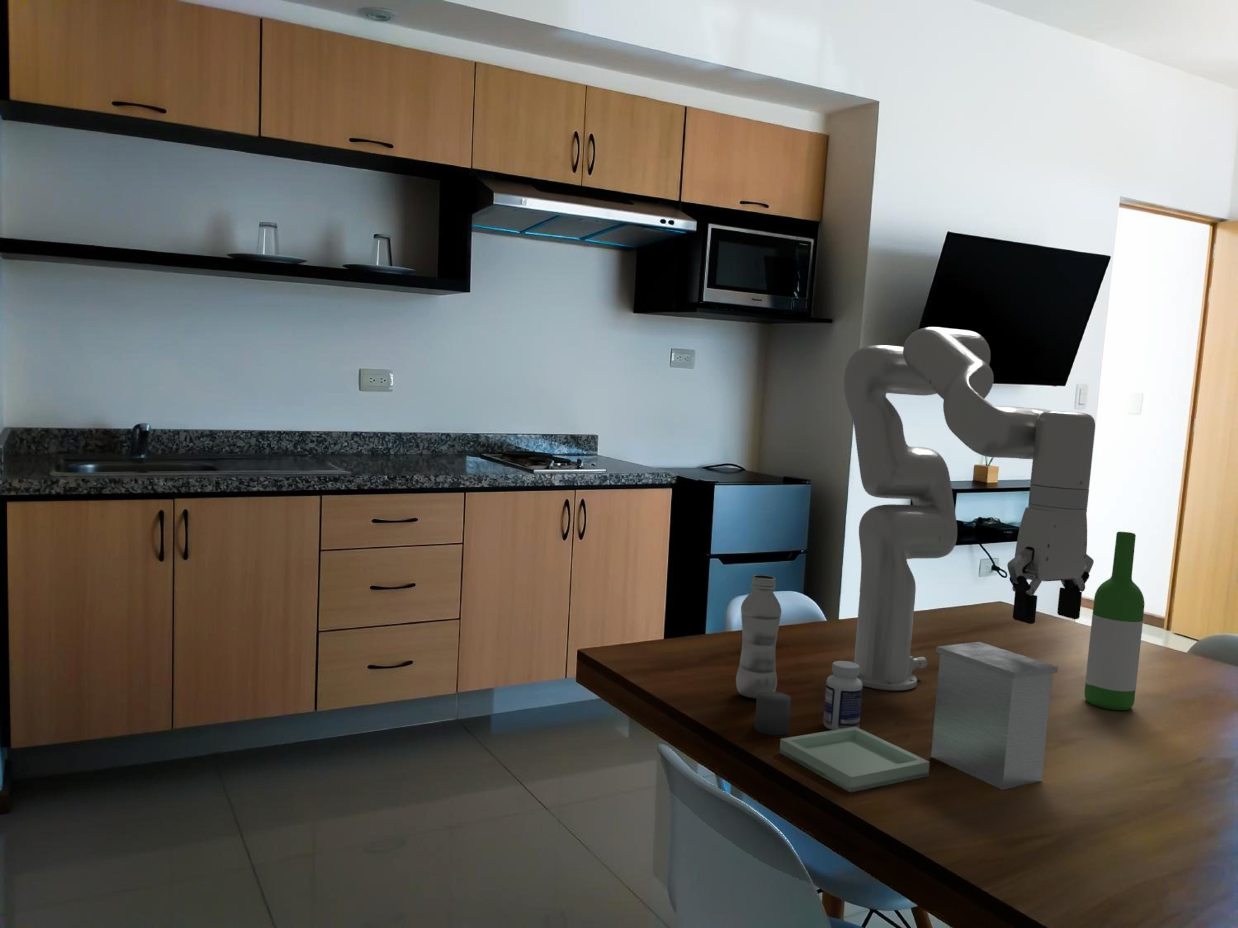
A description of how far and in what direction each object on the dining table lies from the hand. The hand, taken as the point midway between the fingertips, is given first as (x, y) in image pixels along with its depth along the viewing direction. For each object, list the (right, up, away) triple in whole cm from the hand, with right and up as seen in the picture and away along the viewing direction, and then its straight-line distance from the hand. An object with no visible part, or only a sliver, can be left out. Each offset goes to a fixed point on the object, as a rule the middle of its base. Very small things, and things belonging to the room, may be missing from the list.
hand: (1046, 619), depth 136 cm
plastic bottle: (-38, -17, +22) cm, 47 cm away
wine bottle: (+24, -20, +30) cm, 43 cm away
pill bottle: (-27, -18, +10) cm, 34 cm away
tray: (-29, -19, -5) cm, 35 cm away
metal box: (-10, -20, -3) cm, 23 cm away
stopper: (-38, -18, +7) cm, 42 cm away
